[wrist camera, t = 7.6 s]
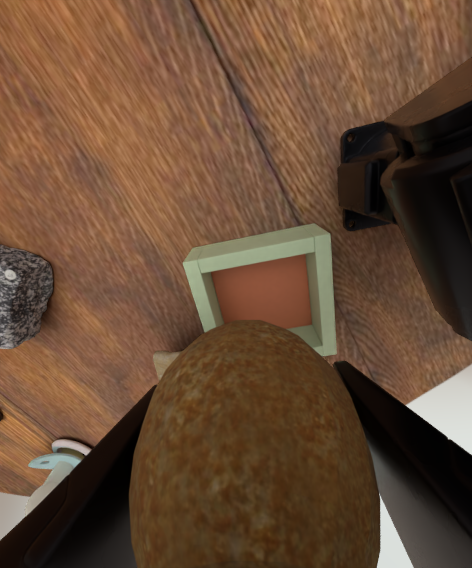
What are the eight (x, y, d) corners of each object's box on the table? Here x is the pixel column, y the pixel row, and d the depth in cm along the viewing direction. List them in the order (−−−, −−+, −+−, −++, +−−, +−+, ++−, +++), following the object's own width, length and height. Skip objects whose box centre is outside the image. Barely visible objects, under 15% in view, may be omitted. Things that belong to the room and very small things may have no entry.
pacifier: (64, 426, 28) (36, 448, 30) (21, 489, 23) (-11, 512, 24) (114, 457, 31) (85, 476, 32) (86, 521, 25) (53, 540, 26)
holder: (314, 223, 18) (330, 233, 15) (322, 327, 22) (336, 354, 18) (192, 247, 19) (182, 262, 16) (220, 343, 23) (216, 372, 19)
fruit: (157, 298, 10) (-85, 652, 3) (312, 269, 9) (584, 638, 2) (199, 404, 12) (137, 737, 5) (323, 387, 12) (459, 744, 4)
